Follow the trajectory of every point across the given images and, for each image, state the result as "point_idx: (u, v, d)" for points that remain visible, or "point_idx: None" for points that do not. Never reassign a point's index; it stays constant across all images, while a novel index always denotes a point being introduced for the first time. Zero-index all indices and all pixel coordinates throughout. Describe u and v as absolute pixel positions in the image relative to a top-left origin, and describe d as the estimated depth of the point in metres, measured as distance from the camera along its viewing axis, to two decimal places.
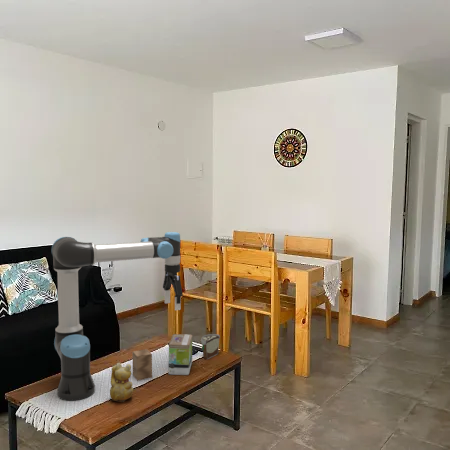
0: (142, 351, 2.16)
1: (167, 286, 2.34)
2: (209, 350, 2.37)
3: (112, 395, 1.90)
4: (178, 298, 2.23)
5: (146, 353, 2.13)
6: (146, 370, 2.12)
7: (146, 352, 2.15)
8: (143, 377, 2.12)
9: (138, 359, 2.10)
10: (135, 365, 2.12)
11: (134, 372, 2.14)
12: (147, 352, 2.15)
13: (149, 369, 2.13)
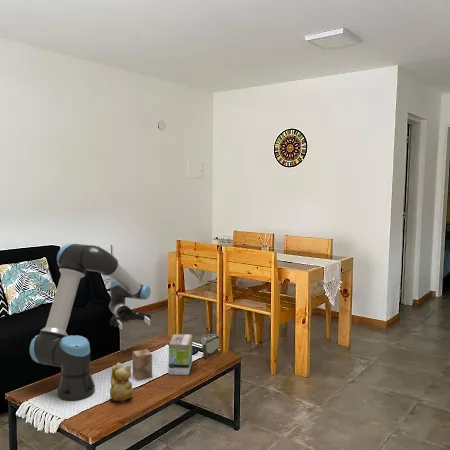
0: (142, 351, 2.16)
1: (119, 319, 2.27)
2: (209, 350, 2.37)
3: (112, 395, 1.90)
4: None
5: (146, 353, 2.13)
6: (146, 370, 2.12)
7: (146, 352, 2.15)
8: (143, 377, 2.12)
9: (138, 359, 2.10)
10: (135, 365, 2.12)
11: (134, 372, 2.14)
12: (147, 352, 2.15)
13: (149, 369, 2.13)
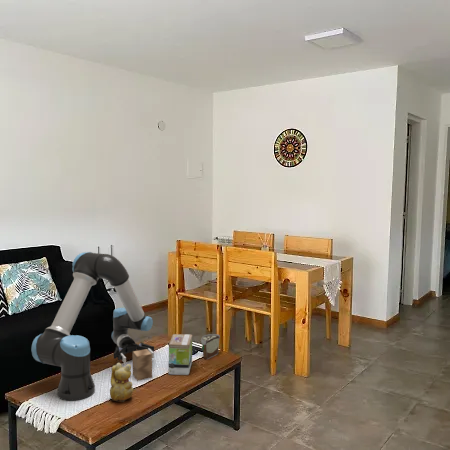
0: (142, 351, 2.16)
1: (122, 352, 2.26)
2: (209, 350, 2.37)
3: (112, 395, 1.90)
4: None
5: (146, 353, 2.13)
6: (146, 370, 2.12)
7: (146, 352, 2.15)
8: (143, 377, 2.12)
9: (138, 359, 2.10)
10: (135, 365, 2.12)
11: (134, 372, 2.14)
12: (147, 352, 2.15)
13: (149, 369, 2.13)
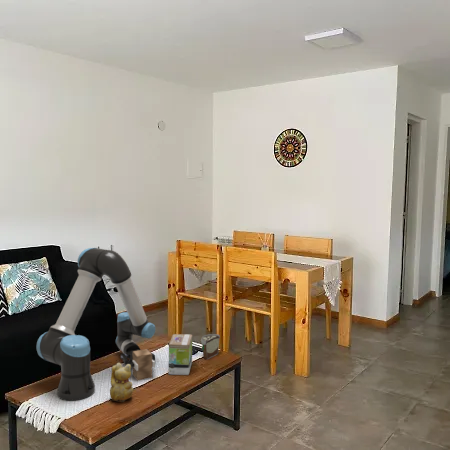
0: (142, 351, 2.16)
1: (132, 359, 2.17)
2: (209, 350, 2.37)
3: (112, 395, 1.90)
4: None
5: (146, 353, 2.13)
6: (146, 370, 2.12)
7: (146, 352, 2.15)
8: (143, 377, 2.12)
9: (138, 359, 2.10)
10: None
11: (134, 372, 2.14)
12: (147, 352, 2.15)
13: (149, 369, 2.13)
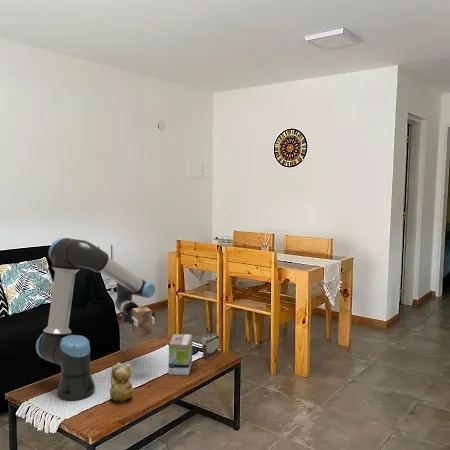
0: (142, 308, 2.14)
1: (131, 316, 2.15)
2: (209, 350, 2.37)
3: (112, 395, 1.90)
4: None
5: (146, 310, 2.11)
6: (146, 326, 2.10)
7: (146, 309, 2.12)
8: (143, 334, 2.10)
9: (138, 315, 2.08)
10: None
11: (134, 329, 2.12)
12: (147, 309, 2.12)
13: (149, 326, 2.11)
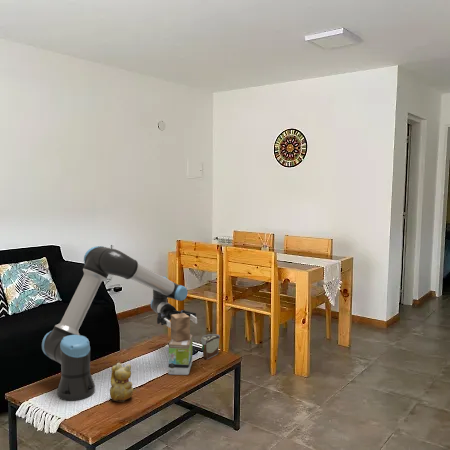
0: (180, 314, 2.23)
1: (165, 318, 2.24)
2: (209, 350, 2.37)
3: (112, 395, 1.90)
4: None
5: (184, 316, 2.21)
6: (184, 332, 2.20)
7: (184, 315, 2.22)
8: (181, 339, 2.19)
9: (177, 321, 2.18)
10: (174, 327, 2.20)
11: (173, 335, 2.21)
12: (185, 315, 2.22)
13: (187, 332, 2.20)
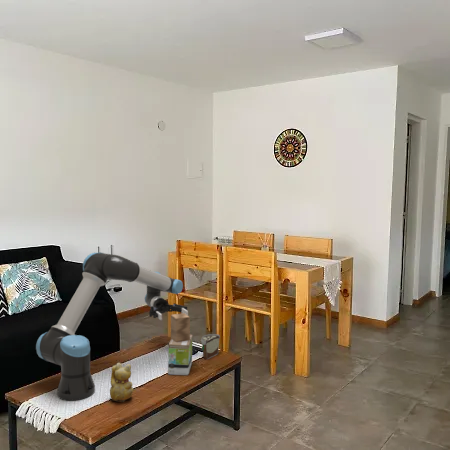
0: (180, 314, 2.23)
1: (157, 311, 2.34)
2: (209, 350, 2.37)
3: (112, 395, 1.90)
4: None
5: (184, 316, 2.21)
6: (184, 332, 2.20)
7: (184, 315, 2.22)
8: (181, 339, 2.19)
9: (177, 321, 2.17)
10: (174, 327, 2.20)
11: (173, 335, 2.21)
12: (185, 315, 2.22)
13: (187, 332, 2.20)
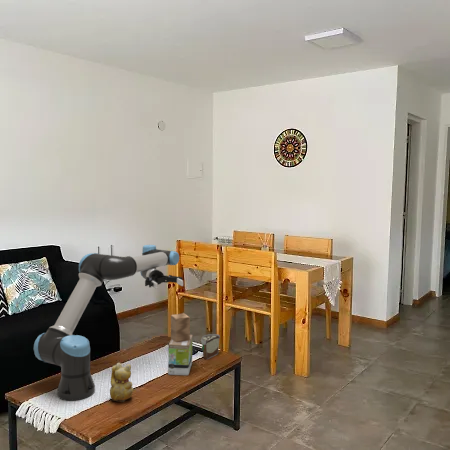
0: (180, 315, 2.23)
1: (153, 281, 2.38)
2: (209, 350, 2.37)
3: (112, 395, 1.90)
4: None
5: (184, 316, 2.20)
6: (184, 332, 2.19)
7: (184, 315, 2.22)
8: (181, 339, 2.19)
9: (177, 321, 2.17)
10: (174, 328, 2.20)
11: (173, 335, 2.21)
12: (185, 315, 2.22)
13: (187, 332, 2.20)
